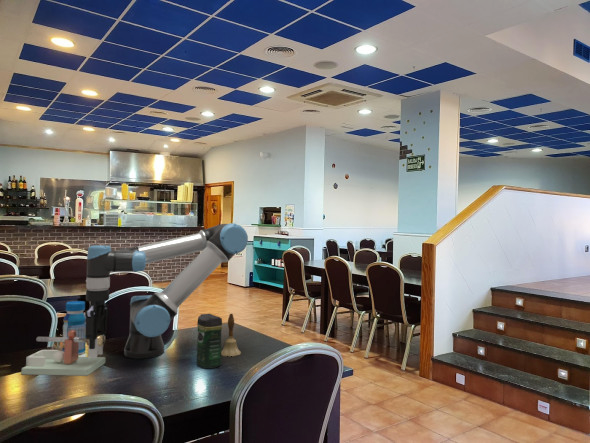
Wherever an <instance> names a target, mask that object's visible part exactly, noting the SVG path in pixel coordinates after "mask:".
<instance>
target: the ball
mask: <svg viewBox="0 0 590 443" xmlns="http://www.w3.org/2000/svg"><path fill="white" fill-rule="evenodd" d="M53 360H54V361H55V362H57V363H60V362H63V361H64V352H63V351H62V350H59V351H57V352H56V353H55V354H54V355H53Z"/></svg>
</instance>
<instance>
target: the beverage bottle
mask: <svg viewBox="0 0 590 443" xmlns="http://www.w3.org/2000/svg"><path fill="white" fill-rule="evenodd" d="M85 309H86V301H83V300H82V301H81V300H73V301H67V302H66V303H65V312H66V313H65V315H64V317H63V319H62V320H63V325H62V333H63V334H62V337H68V332H69V331H71V330H75V331H76V333H77V335H76V336H75V337H79V338H86V316H85V312H84V311H86V310H85ZM61 351H63V352H64V351H65V342H62V349H61ZM84 353H86V343H85V342H79V349H78V356H80V355H83V354H84Z"/></svg>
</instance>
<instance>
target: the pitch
mask: <svg viewBox="0 0 590 443" xmlns="http://www.w3.org/2000/svg"><path fill="white" fill-rule="evenodd" d="M57 351H60V350H59V349H41V350H39V351H37V352H35V353H32V354H30V355H28V356H26V359H25V360H26V361H25V366H24V367H21V374H20V375H30V376H31V375H34V376H35V375H37V376H38V375H39V376H82V377H83V376H85V377H87V376H89V375H90V374H92V373H93V372H95V371H96V370H97V369H99V368H100V367H102V366H103V365H104V364H106V357H105V356H103V357H101V356H99V357H98V356H97V358H88V356H78V360H76V361H74V362H73V363H71V364H69V363H64V361H63V362H60V363H57V362H55V361H54V360H53V355H54V354H55V353H56V352H57Z"/></svg>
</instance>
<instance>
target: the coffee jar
mask: <svg viewBox="0 0 590 443" xmlns="http://www.w3.org/2000/svg"><path fill="white" fill-rule="evenodd" d="M196 325H197V343H196V345H197V346H196V358H195V360H196V362H195V363H196V364H197V365H198V366H199V367H201V368H204V369H207V368H208V369H215V368H217V367H219V366H221V364H222V355H221V351H222V329H223V318H222V317H221V316H217V315H214V314H213V313H203V314H200V315H199V316H198V317H197V323H196Z"/></svg>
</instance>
